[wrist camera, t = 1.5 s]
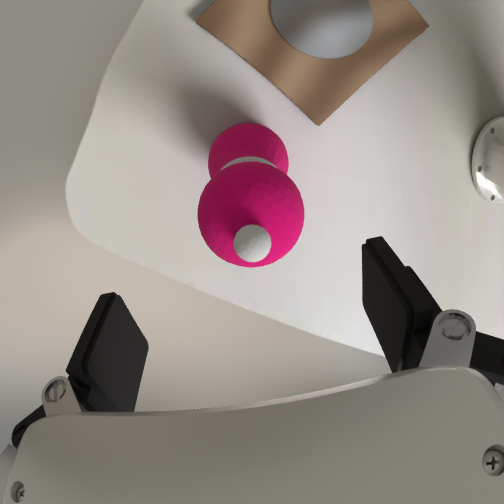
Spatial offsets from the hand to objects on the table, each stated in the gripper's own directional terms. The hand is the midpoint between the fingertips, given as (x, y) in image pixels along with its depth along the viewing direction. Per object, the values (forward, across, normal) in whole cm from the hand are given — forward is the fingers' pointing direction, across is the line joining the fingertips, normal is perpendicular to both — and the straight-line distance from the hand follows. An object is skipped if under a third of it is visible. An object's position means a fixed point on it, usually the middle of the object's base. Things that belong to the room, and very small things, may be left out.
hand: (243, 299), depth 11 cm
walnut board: (+23, -11, -13) cm, 29 cm away
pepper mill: (+23, -1, 0) cm, 23 cm away
